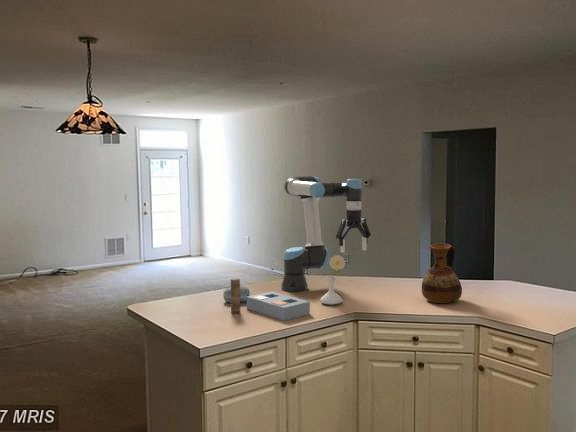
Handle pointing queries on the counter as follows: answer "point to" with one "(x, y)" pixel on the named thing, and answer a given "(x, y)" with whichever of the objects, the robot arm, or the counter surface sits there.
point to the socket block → (278, 305)
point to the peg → (235, 296)
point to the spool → (243, 294)
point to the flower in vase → (331, 296)
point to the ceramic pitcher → (442, 276)
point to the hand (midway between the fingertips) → (353, 251)
